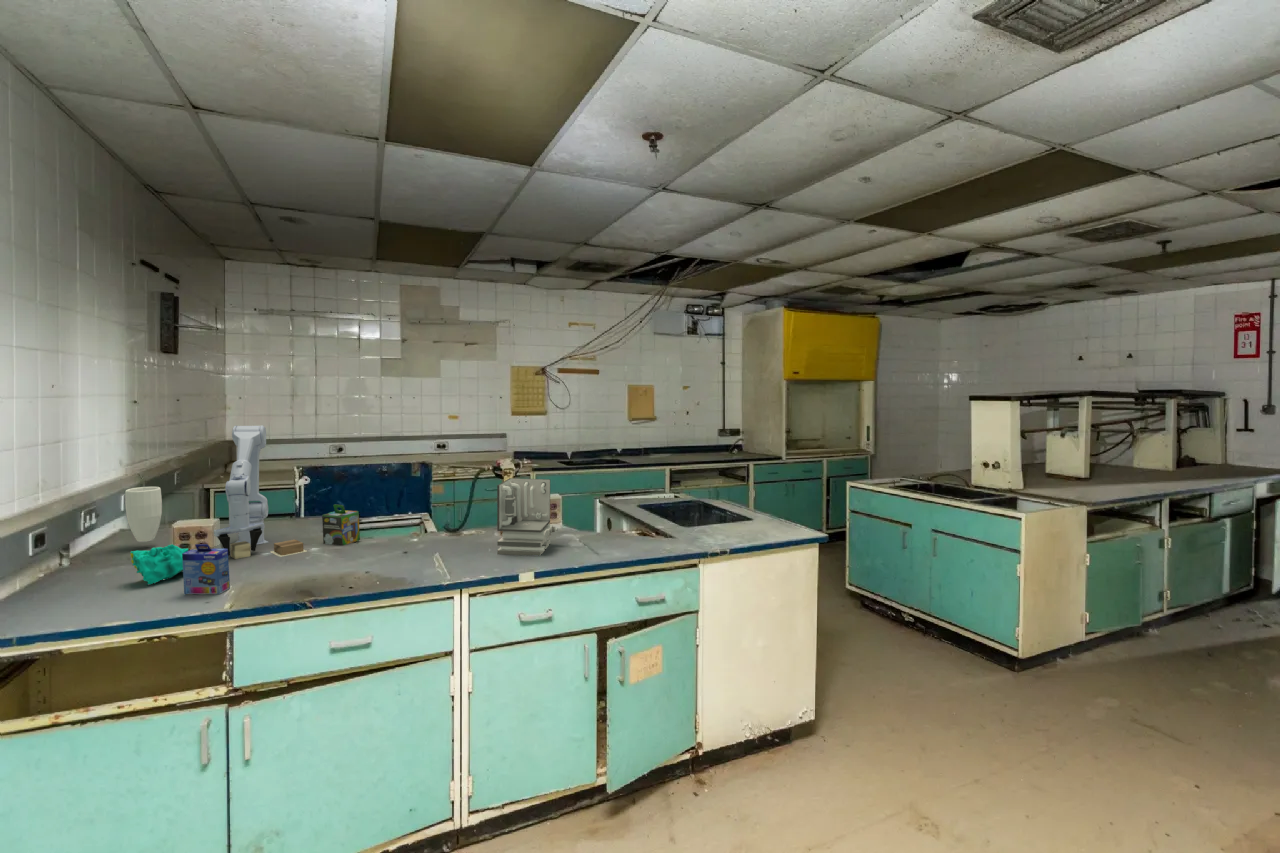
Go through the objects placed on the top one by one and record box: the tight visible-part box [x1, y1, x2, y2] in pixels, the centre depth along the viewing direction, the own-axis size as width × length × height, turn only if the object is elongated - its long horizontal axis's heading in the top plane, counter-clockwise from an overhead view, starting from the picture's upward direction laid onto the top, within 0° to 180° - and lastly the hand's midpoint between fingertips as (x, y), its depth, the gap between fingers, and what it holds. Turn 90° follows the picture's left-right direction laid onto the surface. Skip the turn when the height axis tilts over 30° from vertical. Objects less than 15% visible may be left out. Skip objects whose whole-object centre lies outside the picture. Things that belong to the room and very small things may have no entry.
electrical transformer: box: [496, 477, 558, 557], centre depth 221 cm, size 16×19×25 cm
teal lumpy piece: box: [129, 544, 189, 585], centre depth 182 cm, size 15×12×13 cm
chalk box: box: [321, 504, 361, 546], centre depth 225 cm, size 9×9×15 cm
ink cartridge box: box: [182, 543, 231, 595], centre depth 172 cm, size 10×6×14 cm, turn 95°
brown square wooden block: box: [273, 539, 305, 556], centre depth 212 cm, size 7×7×3 cm
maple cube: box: [229, 541, 251, 560], centre depth 206 cm, size 4×4×4 cm
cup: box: [124, 486, 163, 543], centre depth 214 cm, size 10×10×22 cm
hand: (240, 552), depth 206 cm, fingers open, 7 cm apart
